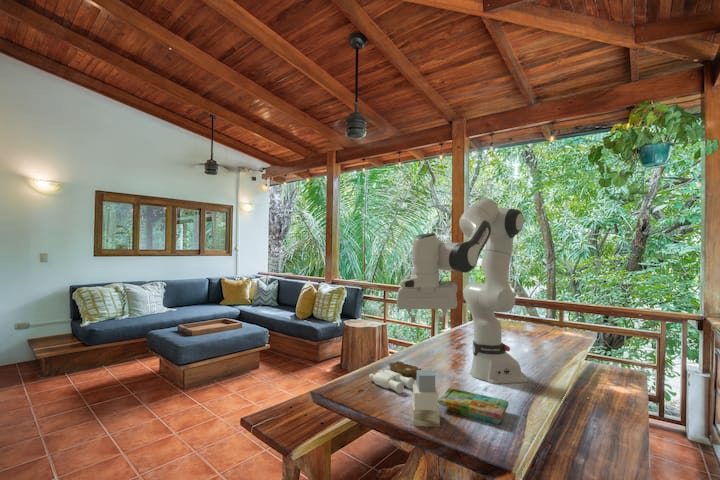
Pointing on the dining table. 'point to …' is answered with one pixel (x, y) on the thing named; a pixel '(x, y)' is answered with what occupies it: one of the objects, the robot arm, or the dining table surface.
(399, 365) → the decorative rock
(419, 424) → the birch slab
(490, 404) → the puzzle game
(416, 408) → the white block
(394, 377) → the binoculars
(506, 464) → the dining table surface
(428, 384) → the grey cube
